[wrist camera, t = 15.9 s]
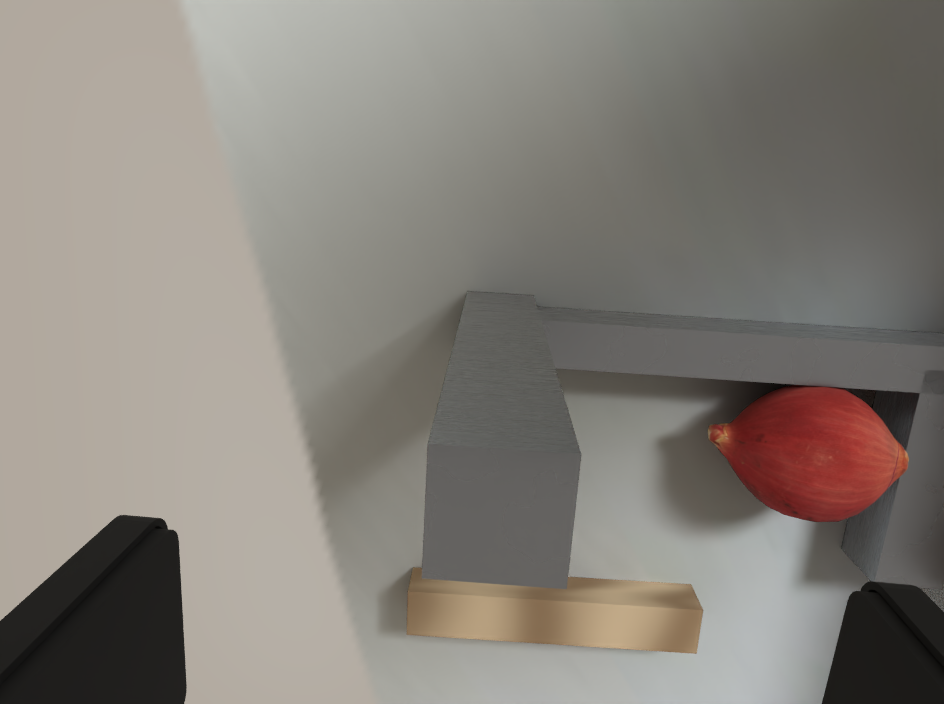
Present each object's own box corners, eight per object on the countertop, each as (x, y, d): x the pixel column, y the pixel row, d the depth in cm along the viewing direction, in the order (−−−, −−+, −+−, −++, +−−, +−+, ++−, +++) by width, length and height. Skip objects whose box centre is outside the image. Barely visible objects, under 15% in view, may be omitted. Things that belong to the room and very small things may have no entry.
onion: (918, 563, 26) (703, 528, 28) (867, 497, 32) (690, 471, 33) (956, 422, 25) (727, 393, 26) (895, 378, 30) (709, 356, 32)
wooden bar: (689, 580, 34) (702, 610, 32) (683, 621, 35) (696, 653, 33) (413, 563, 35) (407, 591, 32) (412, 604, 35) (406, 634, 33)
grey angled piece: (467, 291, 31) (428, 443, 13) (960, 323, 30) (1586, 524, 13) (454, 520, 34) (407, 892, 16) (903, 553, 33) (1350, 970, 16)
